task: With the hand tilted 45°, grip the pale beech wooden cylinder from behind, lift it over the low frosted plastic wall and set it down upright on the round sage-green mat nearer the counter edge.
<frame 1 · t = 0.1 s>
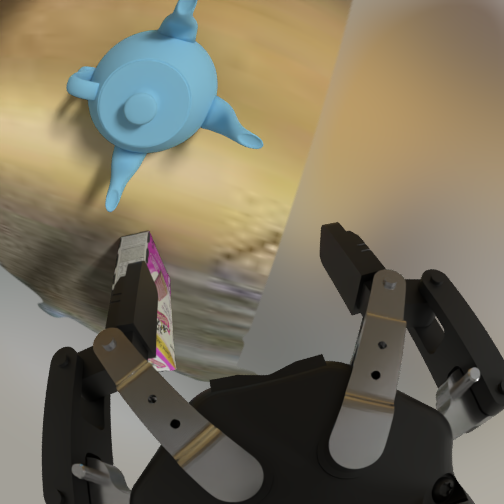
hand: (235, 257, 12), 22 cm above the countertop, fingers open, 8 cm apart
teapot: (163, 88, 25), on the countertop
candy bar box: (147, 257, 41), on the countertop
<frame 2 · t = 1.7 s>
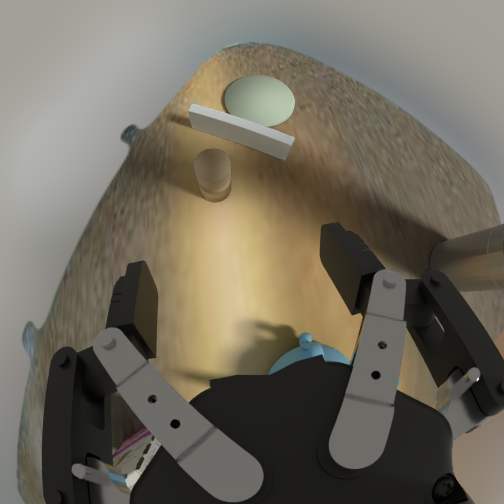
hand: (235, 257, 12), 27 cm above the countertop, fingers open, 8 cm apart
teapot: (307, 389, 37), on the countertop
candy bar box: (154, 437, 34), on the countertop
sage mat: (259, 100, 43), on the countertop
beech cylinder: (215, 187, 40), on the countertop
frosted wall: (239, 139, 42), on the countertop
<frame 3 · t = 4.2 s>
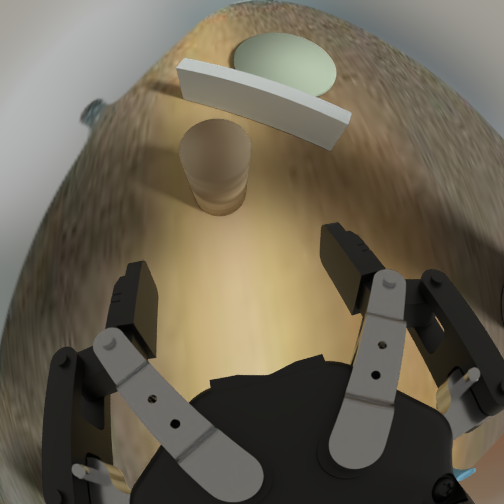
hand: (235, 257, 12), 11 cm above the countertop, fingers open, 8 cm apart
sage mat: (285, 63, 27), on the countertop
beech cylinder: (220, 191, 24), on the countertop
frosted wall: (257, 115, 25), on the countertop
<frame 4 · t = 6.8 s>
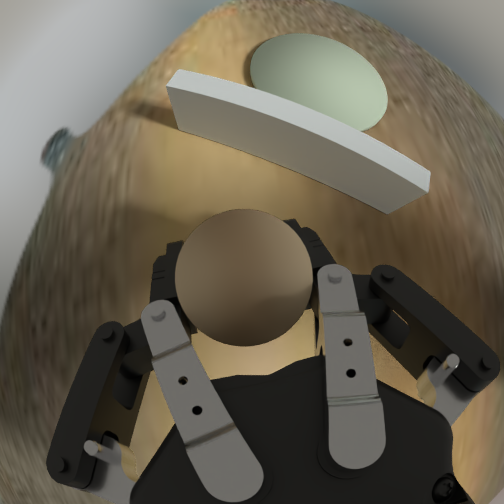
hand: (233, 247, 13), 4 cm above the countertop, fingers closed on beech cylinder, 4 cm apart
sage mat: (321, 78, 20), on the countertop
beech cylinder: (238, 283, 17), on the countertop, touching gripper
frosted wall: (289, 158, 18), on the countertop
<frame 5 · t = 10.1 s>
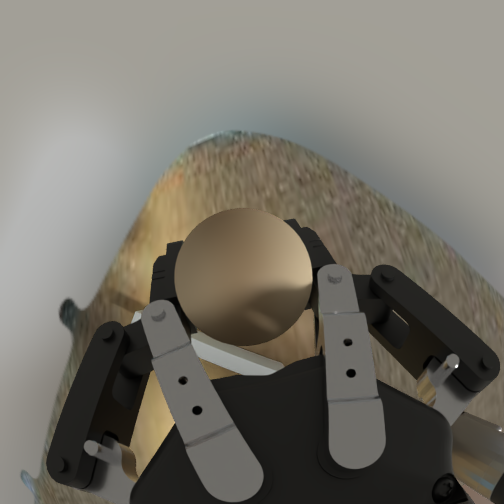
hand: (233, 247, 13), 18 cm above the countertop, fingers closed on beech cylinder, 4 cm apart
beech cylinder: (238, 283, 17), point 14 cm above the countertop, touching gripper
frosted wall: (212, 343, 29), on the countertop
when the fingers open (6 cm above the countertop, at t = 13.6 s): beech cylinder drops 1 cm, resting on sage mat.
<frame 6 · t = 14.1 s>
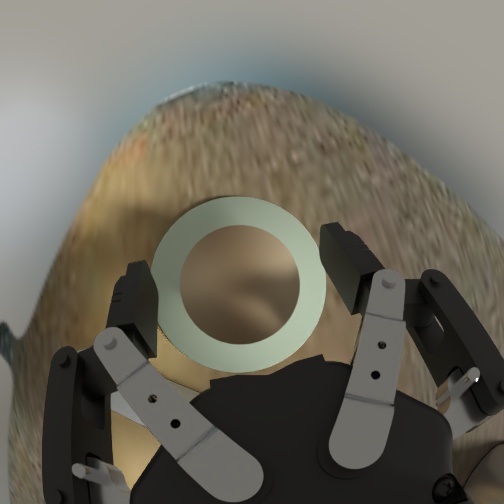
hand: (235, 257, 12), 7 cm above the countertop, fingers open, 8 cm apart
sage mat: (237, 284, 19), on the countertop
beech cylinder: (238, 285, 18), point 1 cm above the countertop, touching sage mat
frosted wall: (191, 399, 18), on the countertop
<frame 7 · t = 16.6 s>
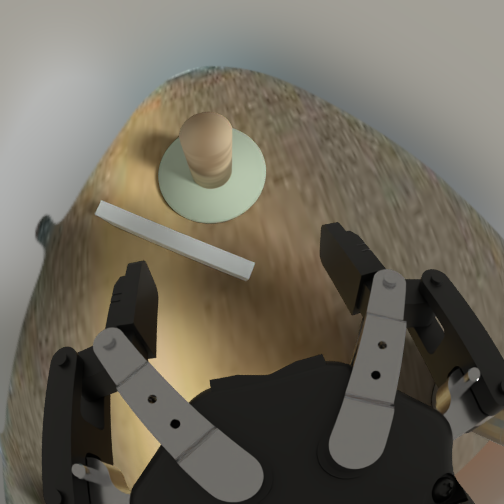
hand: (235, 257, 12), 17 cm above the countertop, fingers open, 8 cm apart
sage mat: (211, 171, 30), on the countertop
beech cylinder: (211, 169, 30), point 1 cm above the countertop, touching sage mat
frosted wall: (177, 245, 29), on the countertop
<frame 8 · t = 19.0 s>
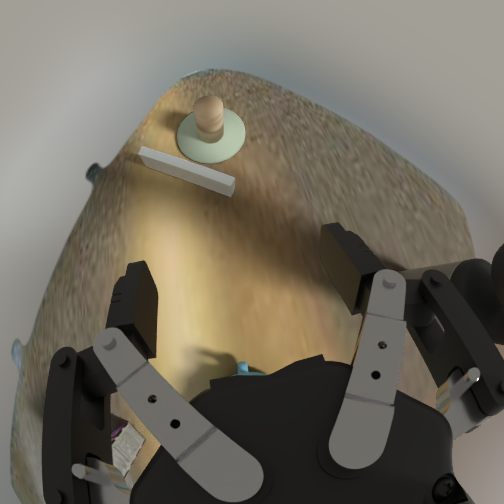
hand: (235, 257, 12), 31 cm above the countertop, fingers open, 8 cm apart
candy bar box: (120, 441, 37), on the countertop
sage mat: (211, 134, 46), on the countertop
beech cylinder: (210, 132, 45), point 1 cm above the countertop, touching sage mat
frosted wall: (188, 177, 44), on the countertop
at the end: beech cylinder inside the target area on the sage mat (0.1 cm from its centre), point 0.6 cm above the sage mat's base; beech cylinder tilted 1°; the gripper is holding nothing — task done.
